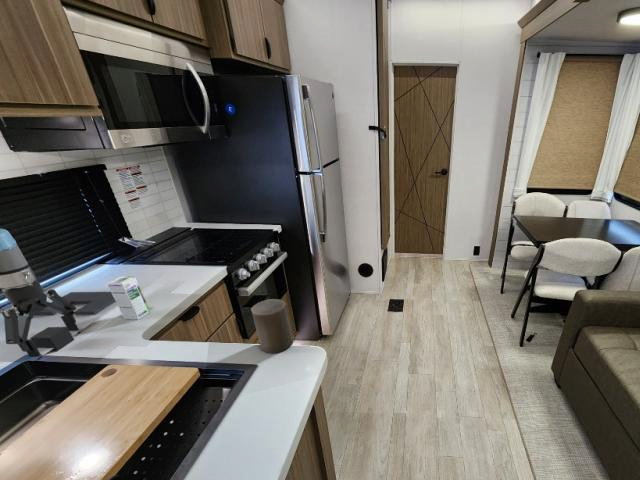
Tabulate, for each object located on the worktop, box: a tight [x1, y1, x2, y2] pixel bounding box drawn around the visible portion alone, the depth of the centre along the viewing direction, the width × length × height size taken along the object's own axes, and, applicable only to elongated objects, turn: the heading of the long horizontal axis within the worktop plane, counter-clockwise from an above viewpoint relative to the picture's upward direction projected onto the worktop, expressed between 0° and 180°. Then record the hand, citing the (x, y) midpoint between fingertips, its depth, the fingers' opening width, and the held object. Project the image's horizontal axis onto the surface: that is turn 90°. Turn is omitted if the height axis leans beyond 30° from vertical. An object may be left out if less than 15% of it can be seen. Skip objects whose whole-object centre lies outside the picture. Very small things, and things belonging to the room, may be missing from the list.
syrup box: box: [106, 275, 151, 320], centre depth 117 cm, size 6×6×14 cm
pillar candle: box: [250, 298, 294, 354], centre depth 100 cm, size 10×10×15 cm
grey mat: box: [35, 291, 116, 316], centre depth 126 cm, size 22×16×2 cm
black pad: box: [30, 326, 75, 352], centre depth 103 cm, size 6×6×5 cm
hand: (57, 344), depth 104 cm, fingers open, 13 cm apart
